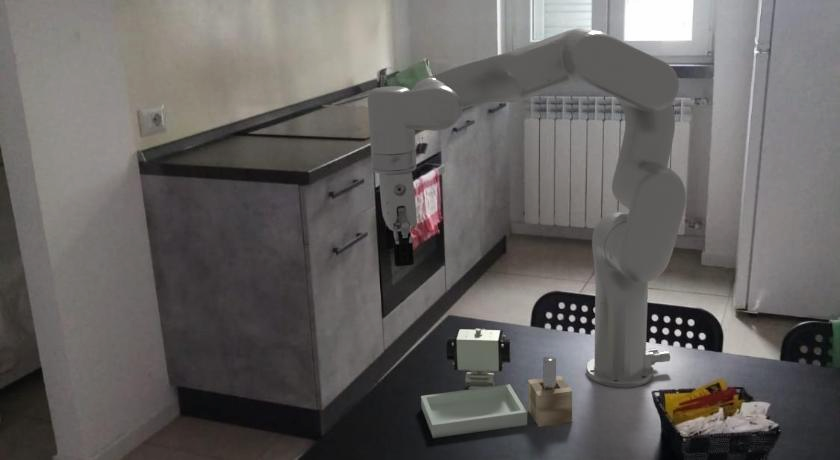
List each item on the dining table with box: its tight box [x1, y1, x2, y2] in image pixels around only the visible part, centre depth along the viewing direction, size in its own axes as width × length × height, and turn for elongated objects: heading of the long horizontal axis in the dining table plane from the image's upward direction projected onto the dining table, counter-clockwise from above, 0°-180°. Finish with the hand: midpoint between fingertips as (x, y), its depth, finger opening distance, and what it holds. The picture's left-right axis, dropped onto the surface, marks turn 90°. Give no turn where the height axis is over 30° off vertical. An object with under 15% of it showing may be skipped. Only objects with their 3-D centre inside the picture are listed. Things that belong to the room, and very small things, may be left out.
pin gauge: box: [542, 356, 557, 391], centre depth 150 cm, size 2×2×11 cm
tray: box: [420, 383, 528, 439], centre depth 153 cm, size 17×11×2 cm, turn 100°
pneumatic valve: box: [445, 328, 512, 390], centre depth 162 cm, size 6×12×12 cm, turn 80°
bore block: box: [527, 375, 573, 428], centre depth 151 cm, size 6×6×6 cm
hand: (399, 256), depth 152 cm, fingers open, 9 cm apart
